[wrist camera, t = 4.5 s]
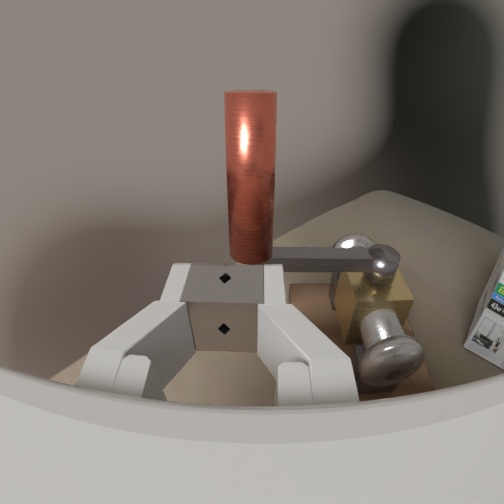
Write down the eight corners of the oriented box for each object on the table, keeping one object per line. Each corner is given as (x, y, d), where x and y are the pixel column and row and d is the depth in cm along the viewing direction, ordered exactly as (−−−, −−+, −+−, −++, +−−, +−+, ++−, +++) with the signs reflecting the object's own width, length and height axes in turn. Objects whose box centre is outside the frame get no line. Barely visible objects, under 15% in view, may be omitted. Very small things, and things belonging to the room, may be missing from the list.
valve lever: (399, 286, 22) (440, 114, 15) (229, 287, 23) (221, 94, 15) (387, 263, 25) (418, 106, 18) (232, 262, 25) (227, 90, 18)
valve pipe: (400, 397, 22) (434, 343, 18) (346, 404, 22) (371, 349, 18) (365, 289, 34) (379, 233, 30) (323, 289, 34) (332, 232, 30)
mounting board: (431, 409, 22) (438, 400, 21) (299, 425, 22) (302, 417, 21) (387, 292, 35) (391, 283, 34) (288, 294, 35) (289, 283, 34)
